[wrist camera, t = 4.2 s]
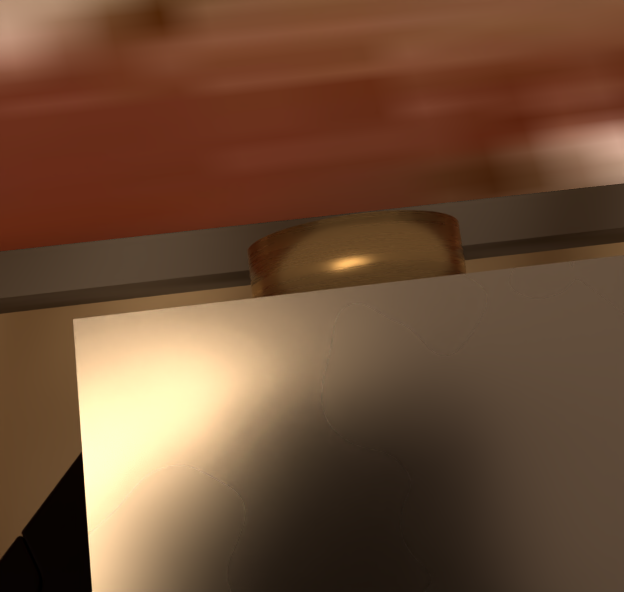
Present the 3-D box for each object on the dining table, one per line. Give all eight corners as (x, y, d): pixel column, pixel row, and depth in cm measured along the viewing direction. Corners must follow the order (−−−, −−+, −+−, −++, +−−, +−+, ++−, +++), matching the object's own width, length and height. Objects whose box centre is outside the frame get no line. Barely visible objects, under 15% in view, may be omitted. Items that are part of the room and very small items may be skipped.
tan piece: (705, 210, 18) (826, 161, 14) (774, 523, 16) (928, 569, 13) (-131, 304, 16) (-266, 280, 12) (-123, 654, 15) (-268, 753, 11)
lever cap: (442, 479, 14) (791, 706, 4) (234, 508, 14) (107, 819, 4) (415, 303, 15) (673, 153, 5) (215, 327, 15) (65, 218, 5)
